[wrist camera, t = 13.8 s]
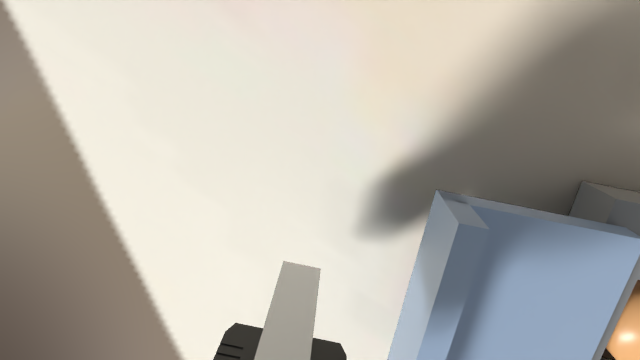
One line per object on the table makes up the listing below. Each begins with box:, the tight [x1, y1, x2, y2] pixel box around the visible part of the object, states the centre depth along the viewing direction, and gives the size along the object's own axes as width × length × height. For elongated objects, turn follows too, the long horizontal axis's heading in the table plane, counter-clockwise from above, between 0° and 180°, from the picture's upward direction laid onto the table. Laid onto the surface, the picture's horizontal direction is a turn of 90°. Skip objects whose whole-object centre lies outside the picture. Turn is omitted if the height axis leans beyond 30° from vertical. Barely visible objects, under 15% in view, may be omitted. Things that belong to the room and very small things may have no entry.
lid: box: [387, 190, 640, 360], centre depth 16 cm, size 10×8×4 cm
